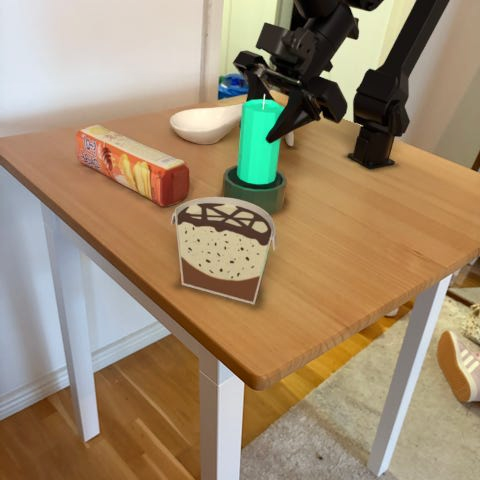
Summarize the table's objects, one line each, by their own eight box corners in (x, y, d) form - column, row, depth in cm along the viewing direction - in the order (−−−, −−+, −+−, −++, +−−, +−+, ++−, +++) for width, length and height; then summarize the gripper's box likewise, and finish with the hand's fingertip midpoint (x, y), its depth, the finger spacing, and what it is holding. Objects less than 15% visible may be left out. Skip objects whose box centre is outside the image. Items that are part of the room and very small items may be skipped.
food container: (280, 280, 67) (291, 209, 61) (266, 308, 62) (277, 233, 56) (190, 257, 69) (192, 186, 63) (170, 281, 65) (170, 207, 58)
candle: (250, 187, 78) (258, 103, 70) (229, 171, 81) (234, 89, 74) (283, 180, 80) (294, 98, 73) (261, 164, 84) (270, 85, 76)
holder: (261, 183, 88) (263, 160, 86) (295, 208, 82) (299, 184, 80) (211, 193, 84) (212, 169, 82) (243, 220, 78) (245, 195, 76)
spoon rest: (169, 149, 96) (169, 109, 92) (169, 126, 105) (169, 88, 101) (296, 155, 99) (302, 116, 95) (286, 132, 108) (291, 95, 104)
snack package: (74, 165, 88) (69, 124, 83) (106, 156, 92) (103, 116, 88) (160, 213, 78) (160, 169, 73) (192, 200, 82) (194, 158, 77)
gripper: (247, -15, 73) (182, 81, 74) (352, 12, 63) (275, 122, 64) (280, 42, 82) (222, 126, 84) (376, 74, 72) (309, 169, 73)
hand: (253, 134), depth 76 cm, fingers closed on candle, 5 cm apart
